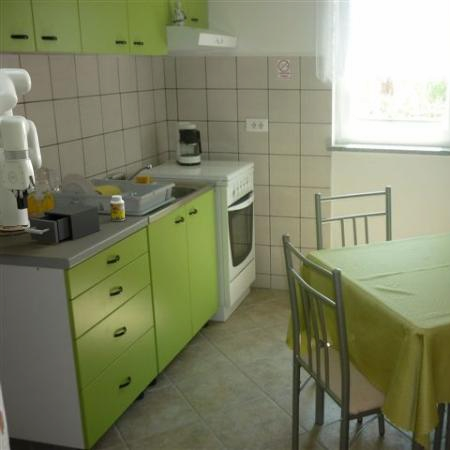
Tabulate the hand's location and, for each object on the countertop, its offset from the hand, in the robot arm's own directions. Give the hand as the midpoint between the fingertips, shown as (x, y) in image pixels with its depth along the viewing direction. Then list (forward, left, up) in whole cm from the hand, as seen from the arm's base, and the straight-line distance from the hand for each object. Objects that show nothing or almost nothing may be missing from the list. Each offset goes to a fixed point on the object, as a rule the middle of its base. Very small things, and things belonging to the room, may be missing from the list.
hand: (23, 208), depth 200 cm
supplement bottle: (+3, +46, -15) cm, 48 cm away
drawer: (0, +12, -14) cm, 19 cm away
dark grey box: (0, +23, -15) cm, 27 cm away
